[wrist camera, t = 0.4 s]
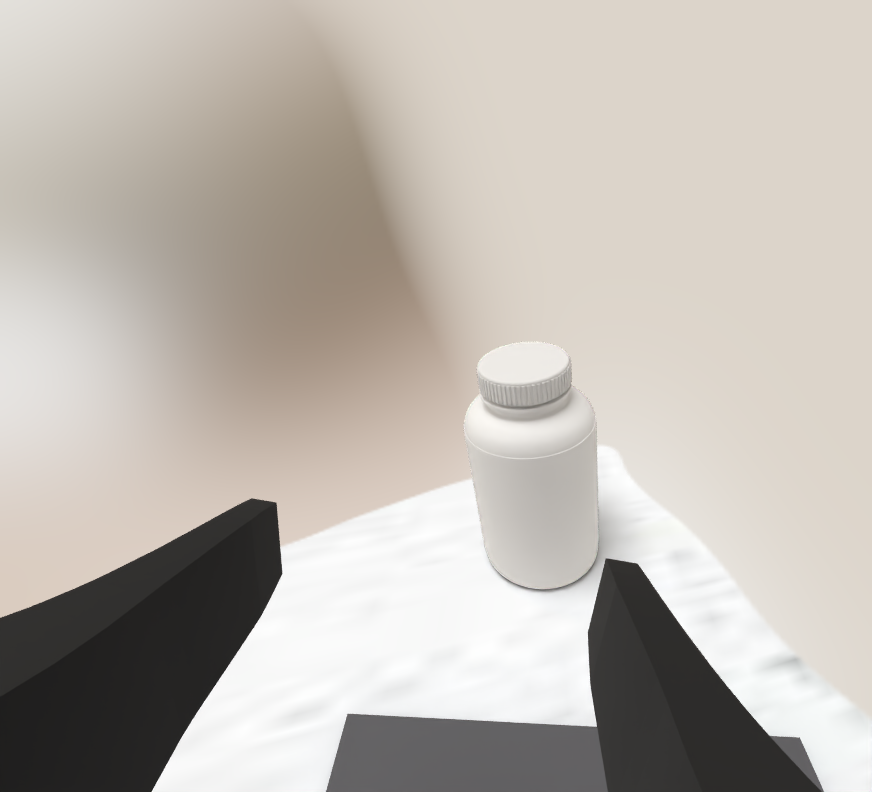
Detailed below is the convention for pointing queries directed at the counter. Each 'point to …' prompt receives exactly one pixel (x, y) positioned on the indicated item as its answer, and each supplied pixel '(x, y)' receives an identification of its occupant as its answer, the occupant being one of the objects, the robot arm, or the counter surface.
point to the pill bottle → (534, 465)
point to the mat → (479, 756)
